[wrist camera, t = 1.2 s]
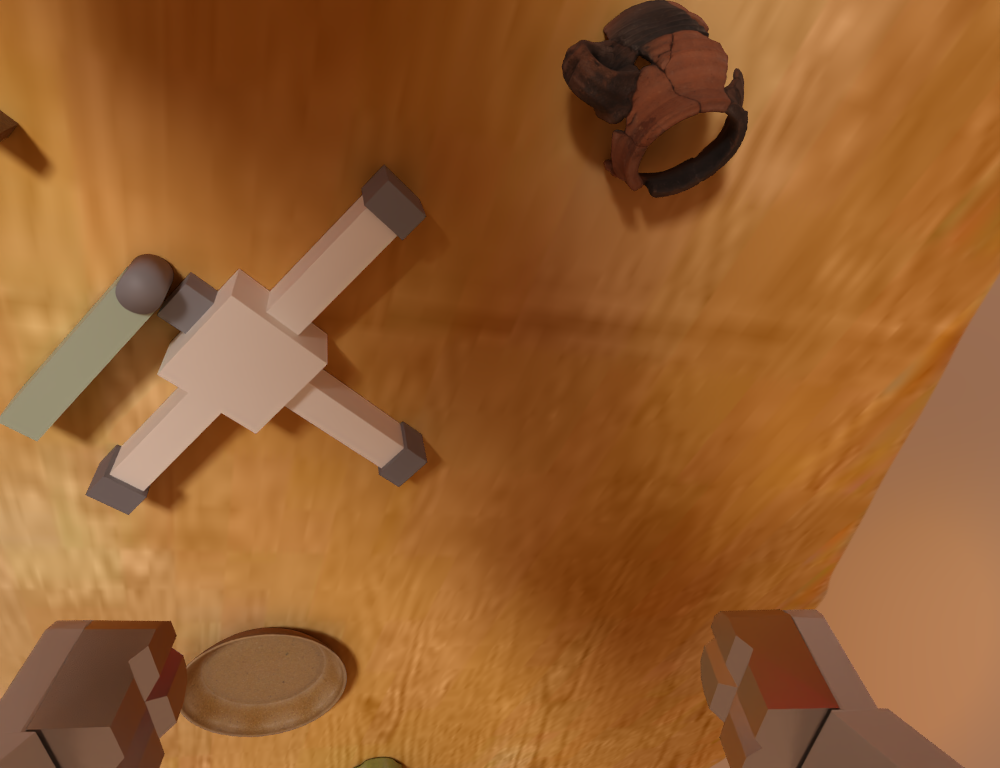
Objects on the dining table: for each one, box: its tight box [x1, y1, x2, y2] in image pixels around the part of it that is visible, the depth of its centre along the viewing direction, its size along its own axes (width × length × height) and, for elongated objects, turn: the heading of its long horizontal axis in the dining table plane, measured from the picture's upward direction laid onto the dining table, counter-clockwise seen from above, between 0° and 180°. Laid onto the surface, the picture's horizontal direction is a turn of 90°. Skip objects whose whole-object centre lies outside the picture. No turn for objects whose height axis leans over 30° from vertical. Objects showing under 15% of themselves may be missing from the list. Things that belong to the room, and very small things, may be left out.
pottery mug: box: [562, 0, 748, 198], centre depth 38 cm, size 12×10×8 cm
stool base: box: [86, 165, 427, 515], centre depth 44 cm, size 20×29×4 cm
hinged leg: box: [0, 254, 174, 441], centre depth 39 cm, size 14×2×3 cm, turn 132°
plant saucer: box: [180, 628, 347, 737], centre depth 60 cm, size 15×15×3 cm
